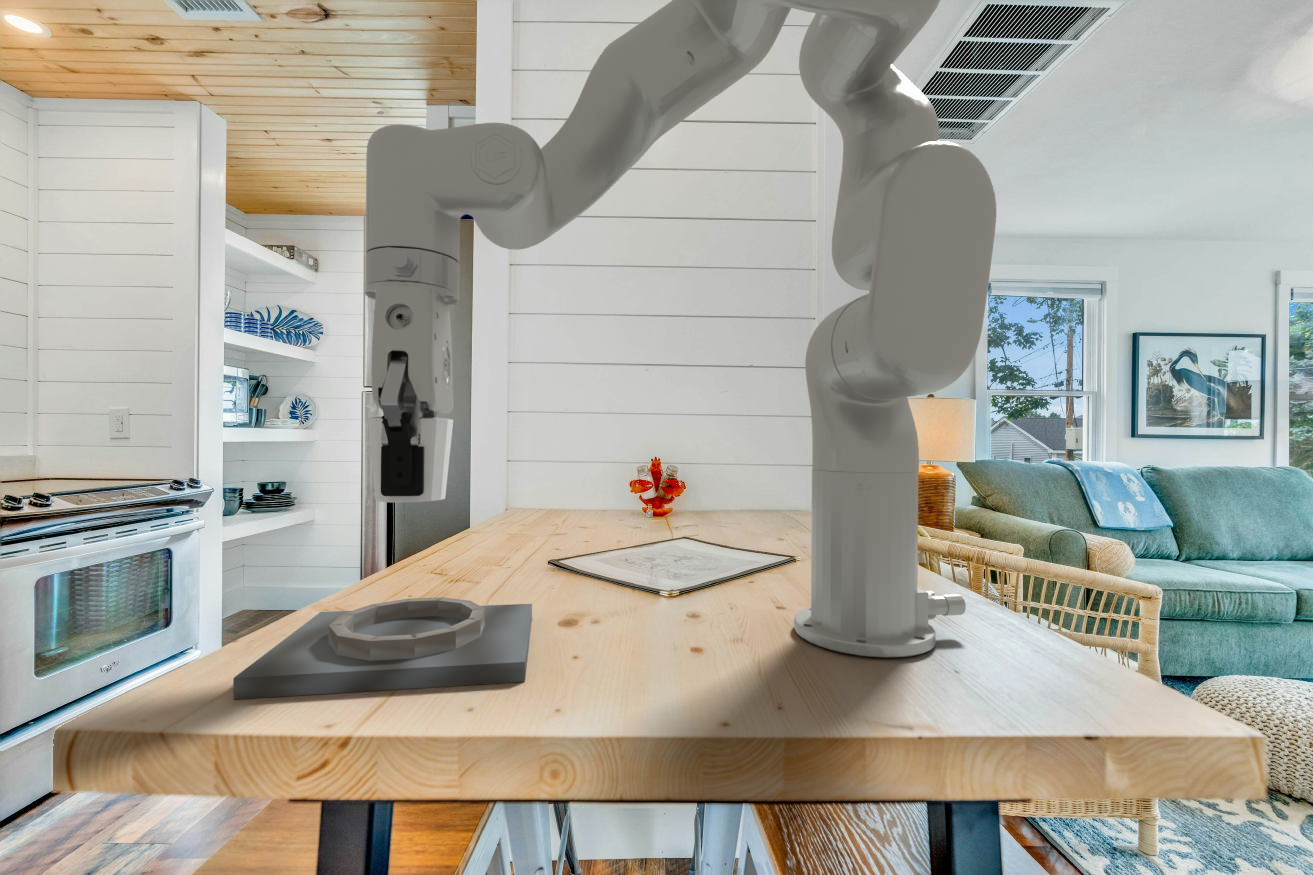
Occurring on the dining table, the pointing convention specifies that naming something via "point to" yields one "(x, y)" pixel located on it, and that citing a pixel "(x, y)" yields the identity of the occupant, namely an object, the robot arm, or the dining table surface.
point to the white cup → (435, 458)
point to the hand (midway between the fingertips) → (411, 489)
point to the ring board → (395, 649)
